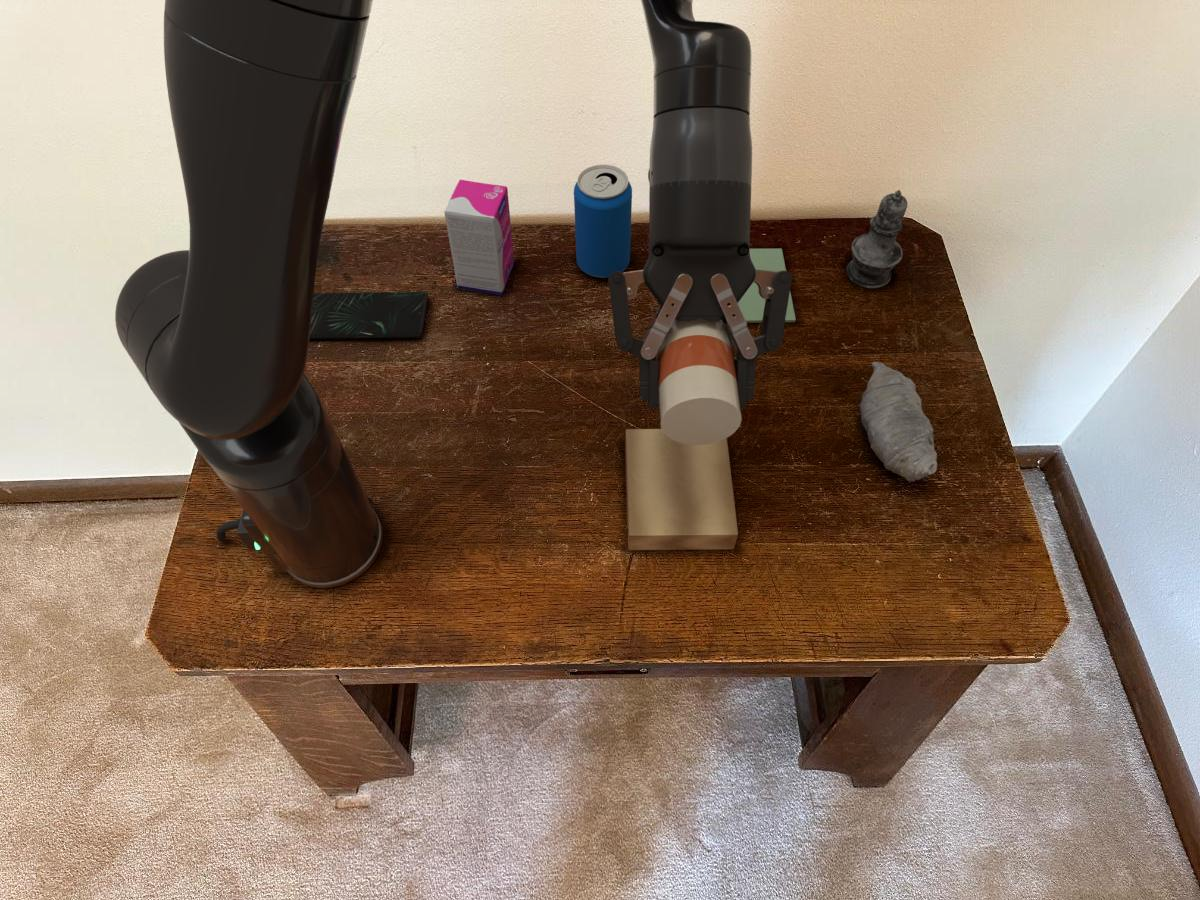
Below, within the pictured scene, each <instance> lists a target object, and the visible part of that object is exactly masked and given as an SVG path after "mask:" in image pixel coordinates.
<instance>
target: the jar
mask: <svg viewBox="0 0 1200 900" xmlns="http://www.w3.org/2000/svg"><path fill="white" fill-rule="evenodd" d="M659 306H660V304H658V306H657V308H656V309H655V312H654V316H655V314H656V312H657V310H658V308H659ZM654 316H653V317H654ZM734 354H735V353H734V349H733V343H732V341H731V339H730V336H729V334H728V332H727V330H726V327H725V325H724V323H723V321H722V320H720V321H707V320H704V319H700V318H699V319H695V320H691V321H677V320H674V321H673V323H672V325H671V327H670V329H669V331H668V333H667V334H666V336H665V338H664V340H663V342H662V344H661V346H660V348H659V350H658V352H657V354H656V359H658V360H659V388H658V390H659V397H658V408H659V419H660V420H659V421H660V429H662V431H663V432H664V434H665V435H666V436H667V437H669V438H670V439H672V440H674V441H676V442H679V443H682V444H687V445H706V444H712V443H715V442H718V441H721V440H723V439H726V438H727V439H728V438H729V437H731V436H732V435H733V434H735V432H736V431H737V430H739V428H740V426H741V424H742V418H743V417H742V410H741V409H742V408H740V402H739V394H738V384H737V376H736V369H735V361H734V359H735V355H734Z"/></svg>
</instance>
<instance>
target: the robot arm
mask: <svg viewBox="0 0 1200 900" xmlns="http://www.w3.org/2000/svg"><path fill="white" fill-rule="evenodd" d="M693 1H694V0H640V3H641V8H642V11H643V16H644V20H645V21H644V22H645V25H646V30H647V35H648V40H649V44H650V50H651V55H652V62H653V107H652V109H653V112H652V113H653V116H652V118H653V120H652V132H651V139H650V147H649V168H648V171H647V179H648V182H649V191H648V192H649V194H648V195H649V197H648V198H649V199H648V200H649V202H648V203H649V206H648V207H649V213H648V218H649V219H648V256H647V260H646V263H645V264H644V266H643V267H642V269H638V270H631V271H625V272H624V271H622V272H620V271H615V272H613V273H611V274H610V276H609V277H608V280H607V281H608V288H609V295H610V304H611V311H612V318H613V327H614V335H615V344H616V346H617V348H618V349H619V350H620V351H622V352H625V353H629V354H631V355H634V356H636V357H637V359H638V367H639V369H638V371H639V372H638V373H639V374H638V393H639V396H640V398H641V400H642V401H643V402H647V407H648V409H659V390H658V388H659V360H658V359H657V358H656V354H657V352H658V350H659V348H660V346H661V344H662V342H663V340H664V338H665V336H666V334H667V333H668V331H669V329H670V327H671V325H672V323H673V321H674V320H677V321H691V320H695V319H699V318H700V319H704V320H707V321H720V320H722V321H723V323H724V325H725V327H726V330H727V332H728V334H729V336H730V339H731V342H732V346H733V348H734V350H735V353H736V358H734V361H735V369H736V376H737V384H738V394H739V402H740V409H745V408H746V407H747V406H746V404H747V401H752V400H753V398H754V395H755V382H756V381H755V379H756V362H757V359H758V358H759V356H762V355H763V354H766V353H768V352H774V351H778V350H779V349H780V348H781V346H782V342H783V336H784V329H785V324H786V322H785V318H786V312H787V306H788V300H789V293H791V287H792V281H793V277H792V274H791V272H789V271H787V270H786V271H776V272H774V271H766V270H758V269H755V267H754V265H753V263H752V261H751V258H750V249H751V248H750V247H751V246H750V244H751V240H750V239H751V210H752V181H753V180H752V179H753V141H752V139H753V138H752V131H751V130H752V129H751V93H752V90H751V89H752V45H751V41H750V39H749V36H748V35H747V33H746V32H745V31H744V30H743V29H741V28H740V27H738V26H736V25H734V24H730V23H724V22H718V21H705V20H696V19H695V17H694V13H693ZM373 2H374V0H164V11H163V56H164V69H165V79H166V88H167V98H168V102H169V110H170V116H171V117H170V118H171V123H172V129H173V132H174V133H173V134H174V138H175V144H176V149H177V153H178V158H179V162H180V163H179V164H180V169H181V175H182V180H183V186H184V193H185V198H186V204H187V212H188V213H187V215H188V223H189V246H188V247H189V248H188V249H182V250H175V251H169V252H167V253H164V254H160V255H157V256H155V257H154V258H152V259H150V260H148V261H147V262H145V263H144V264H142V265H141V266H140V267H138V268H137V269H135V271H134V272H133V273H132V274H131V275H130V276H129V277H128V279H127V280H126V281H125V283H124V284H123V286H122V288H121V290H120V293H119V295H118V298H117V300H116V305H115V311H114V312H115V313H114V315H115V316H114V320H115V321H114V322H115V329H116V332H117V336H118V339H119V340H120V341H119V342H120V343H121V345H122V347H123V349H124V350H125V351H126V353H127V355H128V357H129V358H130V359H131V361H132V363H133V364H134V366H135V367H136V368H137V370H138V372H139V373H140V375H141V377H142V378H143V380H144V382H145V383H146V384H147V386H148V388H149V389H150V391H152V394H153V395H154V396H155V397H156V399H157V400H158V402H159V403H160V405H161V406H162V407H163V409H164V410H166V412H167V413H168V414H170V416H172V418H174V420H175V421H177V422H178V424H179V425H180V426H181V428H182V429H183V430H184V433H185V434H186V435H187V437H188V438H189V439H190V441H191V442H192V444H193V445H194V447H195V448H196V449H197V451H198V452H199V454H200V455H201V456H202V458H203V459H204V461H205V462H206V463H207V464H208V466H209V467H210V468H211V469H212V471H213V472H214V474H215V475H216V476H217V478H219V480H220V481H221V483H222V484H223V485H224V487H225V488H226V489H227V491H228V492H229V493H230V494H231V495H232V497H233V498H234V500H235V501H236V503H237V504H238V505H239V507H240V508H241V509H242V512H241V516H240V519H235V520H231V521H227V522H225V523H223V524H221V525H219V526H218V528H217V529H216V539H217V541H218V542H224V541H225V540H226V538H227V535H226V532H228V531H231V530H235V529H237V530H236V535H237V536H238V538H240V540H241V541H242V542H243V544H244V545H245V546H246V547H247V548H248V550H256V551H258V550H261V551H262V553H263V554H264V555H265V557H266V558H267V559H268V561H269V562H270V563H271V565H272V566H273V567H274V568H275V569H276V571H277V572H278V573H279V574H289V575H290V576H291V577H292V578H293V579H294V580H296V582H298V583H300V584H302V585H304V586H307V587H311V588H316V589H331V588H336V587H341V586H344V585H346V584H349V583H350V582H353V581H354V580H356V579H357V578H359V577H360V576H362V575H363V574H364V573H365V572H367V570H369V568H371V566H372V565H373V564H374V562H375V561H376V559H377V558H378V556H379V554H380V552H381V549H382V547H383V540H384V532H383V526H382V523H381V521H380V519H379V516H378V514H377V513H376V511H375V510H374V509H373V507H372V506H374V507H375V508H376V507H377V506H376V505H375V502H374V500H372V499H371V498H370V497H369V496H368V495H367V493H366V492H365V490H364V487H363V485H362V484H361V483H362V482H361V481H360V479H359V477H358V475H357V473H356V471H355V468H354V467H353V465H352V463H351V460H350V458H349V456H348V454H347V452H346V450H345V447H344V445H343V443H342V442H341V440H340V437H339V435H338V434H337V431H336V429H335V427H334V425H333V422H332V421H331V419H330V417H329V415H328V413H327V411H326V409H325V405H324V404H323V403H322V400H321V398H320V396H319V395H318V393H317V391H316V390H315V388H314V386H313V385H312V383H311V382H310V381H309V379H308V378H307V375H306V374H305V370H306V367H307V361H308V355H309V347H310V340H311V339H310V328H311V317H312V307H313V296H314V293H315V286H316V285H315V284H316V274H317V265H318V258H319V257H318V256H319V251H320V244H321V239H322V233H323V229H324V223H325V219H326V214H327V209H328V205H329V201H330V195H331V190H332V185H333V180H334V176H335V171H336V165H337V160H338V156H339V150H340V145H341V142H342V141H341V140H342V135H343V131H344V125H345V121H346V118H347V113H348V110H349V105H350V102H351V99H352V94H353V92H354V87H355V84H356V80H357V76H358V75H357V74H358V71H359V67H360V66H359V65H360V61H361V56H362V52H363V47H364V44H365V38H366V34H367V29H368V25H369V20H370V17H371V15H370V14H371V13H372V7H373ZM753 282H754V283H756V284H757V285H758V288H759V295H760V296H761V297H762V298H764V299H766V300H765V306H764V313H763V319H762V323H761V326H760V332H759V335H758V336H756V337H753V336H752V333H751V332H750V330H749V327H748V323H746V321H745V319H744V316H743V314H742V312H741V310H740V308H739V306H738V302H739V301H740V299H741V298H742V297H743V295H744V294H745V293H746V291H747V290H748V289H749V287H750V286H751V285H752V283H753ZM642 283H644V285H645V286H646V288H647V289H648V290H649V292H650V293H651V295H652V297H654V299H655V300H656V302H657V303H658V306H659V305H660V306H659V308H658V307H657V308H658V310H657V312H656V311H655V312H656V314H655V313H654V315H655V316H653V318H652V321H651V322H650V324H649V327H648V329H647V331H646V333H645V335H644V337H643V339H641V338H638V337H635V336H633V332H632V324H631V323H632V322H631V315H630V307H629V301H630V300H633V299H634V298H635V297H636V296H637V293H638V287H639V286H640V285H641V284H642Z"/></svg>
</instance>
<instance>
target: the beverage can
mask: <svg viewBox="0 0 1200 900" xmlns="http://www.w3.org/2000/svg"><path fill="white" fill-rule="evenodd" d="M632 204H633V187H632V184H631V183H630V181H629V177H628V175H627V173H626V172H625V171H624V170H622V169H621V168H620V167H617V166H615V165H612V164H611V165H610V164H596V165H591V166H589V167H587V168H585V169H583V170H582V171H581V172H580V174H578V176H577V181H576V182H575V184H574V187H573V206H574V231H575V233H574V234H575V255H576V256H575V257H576V264H577V266H578V267H579V269H580V270H581V271H582V272H583V273H585V274H587V275H589V276H591V277H595V278H603V279H604V278H605V279H606V278H609V276H610V274H611V273H613V272H615V271H620V272H622V273H623V272H624V271H625V270H626V269H627V268H628V266H629V265H630V260H631V239H632V238H631V237H632V236H631V234H632V209H633V207H632V206H633V205H632Z"/></svg>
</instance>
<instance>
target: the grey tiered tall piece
mask: <svg viewBox="0 0 1200 900" xmlns="http://www.w3.org/2000/svg"><path fill="white" fill-rule="evenodd" d="M908 206H909V205H908V201H907V198H906V197H905V196H904V195H902V191H901V190H900V189H898V190H896V191H895V192H894V193H893V192H892V193H889V194H886V195H885V196H883V198H882V199H881V200H880V203H879V206H878V209H877V212H876V214H875V215H874V216H872V218H870V222H869V223H870V229H869V232H868V233H864V234H861V235H859V236H857V237H856V238H855V239H853V241H852V243H851V246H850V247H851V248H850V249H851V255H852V260H851V261H849V262H848V264H847V265H846V270H845V271H846V275H847V277H848V279H850V280H851V282H853V284H856V285H857V286H860V287H862V288H864V289H865V288H866V289H880V288H883V287H885V286H886V285H888V284H889V283H890V281H891V279H892V271H891V270H893V269H894V268H895V267H896V265H898V264H899V263H900V262H901V260H902V259H903V254H904V252H903V249H902V247H901V244H899V243H898V242H897V241H896V239H897V236H898V234H900V233H901V232H902V231H903V228H904V223H903V222H902V221H903V219H904V217H905V214H906V211H907V209H908Z"/></svg>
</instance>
